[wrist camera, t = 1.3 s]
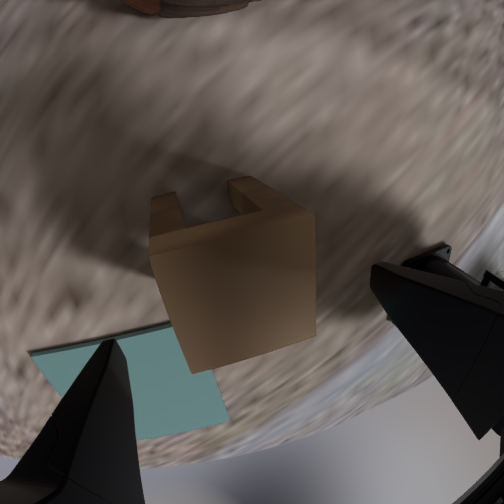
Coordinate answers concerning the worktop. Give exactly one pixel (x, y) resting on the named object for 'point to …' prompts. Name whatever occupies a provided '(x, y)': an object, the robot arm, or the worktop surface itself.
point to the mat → (148, 381)
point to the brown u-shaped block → (236, 275)
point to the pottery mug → (187, 7)
